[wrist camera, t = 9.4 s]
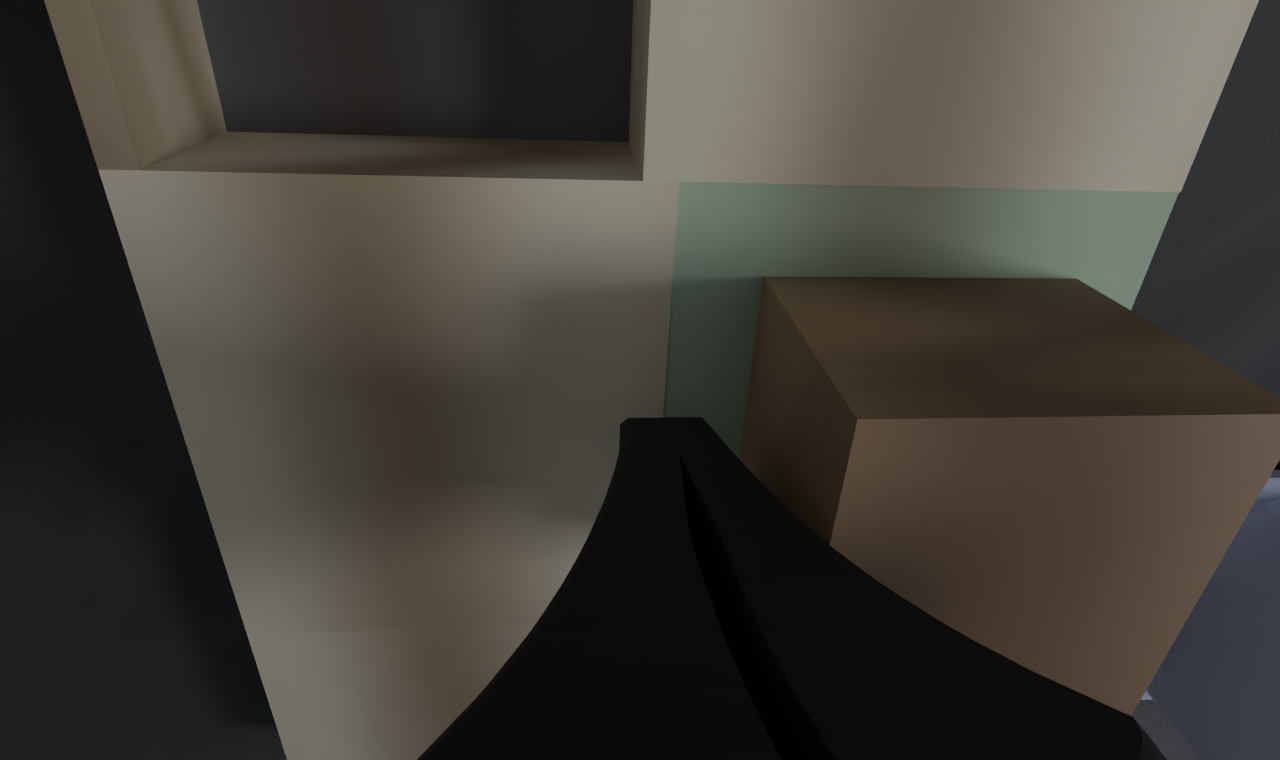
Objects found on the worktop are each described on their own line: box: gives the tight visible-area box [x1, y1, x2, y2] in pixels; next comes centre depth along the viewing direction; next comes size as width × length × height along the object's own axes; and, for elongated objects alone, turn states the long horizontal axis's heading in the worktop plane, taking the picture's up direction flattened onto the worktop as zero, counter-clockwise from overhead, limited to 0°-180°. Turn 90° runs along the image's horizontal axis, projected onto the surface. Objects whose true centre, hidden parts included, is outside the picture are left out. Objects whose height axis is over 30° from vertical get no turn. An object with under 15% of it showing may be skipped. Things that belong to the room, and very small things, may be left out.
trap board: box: [44, 0, 1259, 760], centre depth 13 cm, size 15×22×3 cm, turn 178°
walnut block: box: [739, 276, 1280, 714], centre depth 10 cm, size 5×5×4 cm
